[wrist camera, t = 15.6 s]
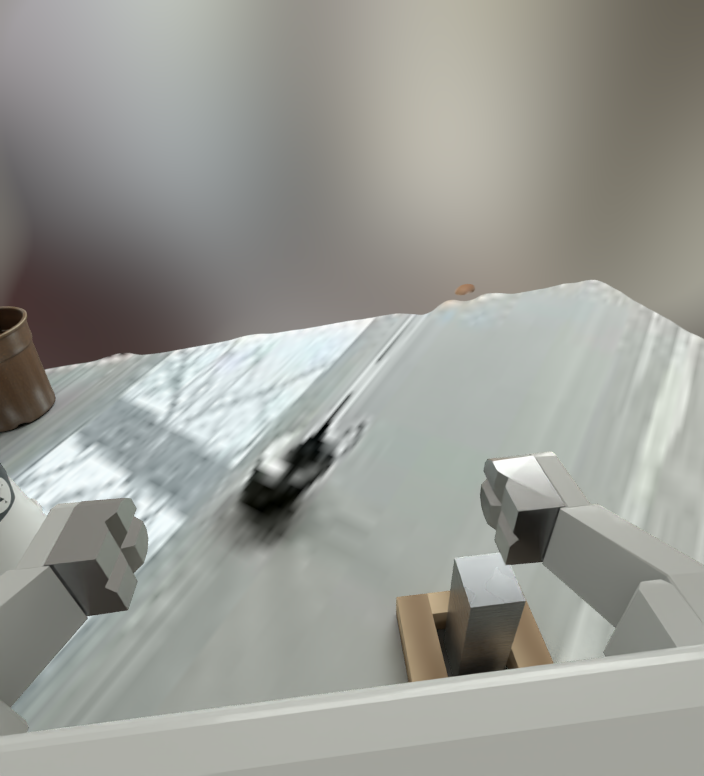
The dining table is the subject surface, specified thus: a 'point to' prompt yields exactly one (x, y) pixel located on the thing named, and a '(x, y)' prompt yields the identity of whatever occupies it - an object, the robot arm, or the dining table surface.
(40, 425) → the dining table surface
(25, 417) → the plant pot
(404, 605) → the well block
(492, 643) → the post
